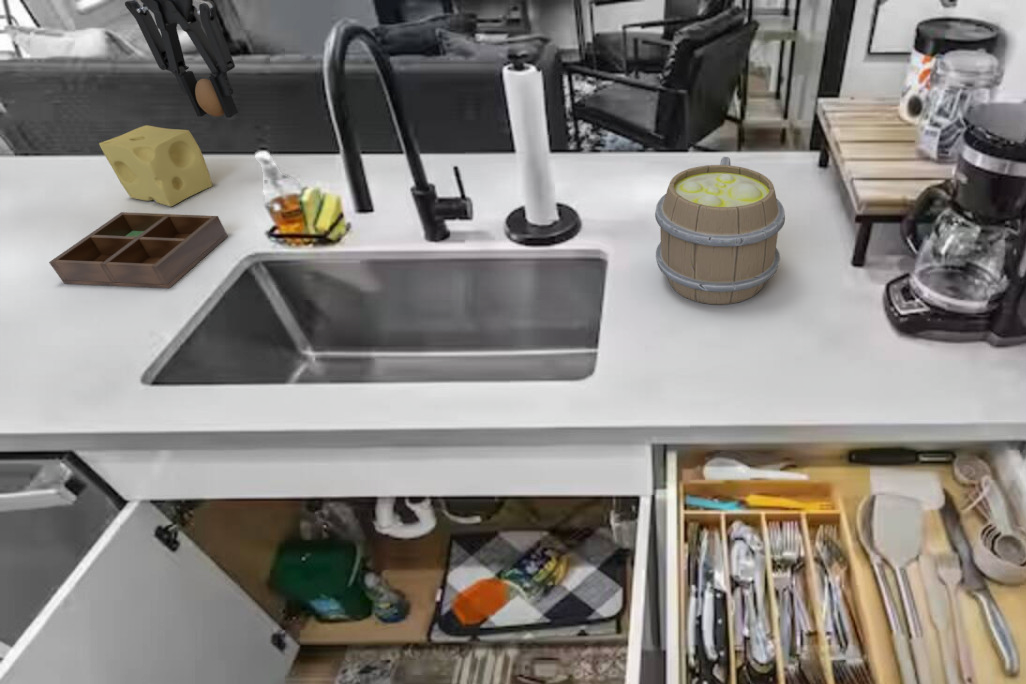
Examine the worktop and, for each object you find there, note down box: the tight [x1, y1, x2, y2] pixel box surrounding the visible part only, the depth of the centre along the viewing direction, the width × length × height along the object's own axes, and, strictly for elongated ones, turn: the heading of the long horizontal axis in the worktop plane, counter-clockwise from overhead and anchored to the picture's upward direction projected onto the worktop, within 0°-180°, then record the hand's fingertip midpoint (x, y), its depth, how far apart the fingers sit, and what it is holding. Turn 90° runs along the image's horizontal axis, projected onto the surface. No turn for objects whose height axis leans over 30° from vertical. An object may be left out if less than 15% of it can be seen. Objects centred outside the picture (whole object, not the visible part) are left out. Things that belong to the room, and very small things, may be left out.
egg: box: [195, 78, 225, 118], centre depth 116 cm, size 4×4×6 cm
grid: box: [49, 211, 229, 289], centre depth 105 cm, size 16×16×4 cm
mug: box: [654, 156, 786, 306], centre depth 100 cm, size 19×25×15 cm
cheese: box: [98, 124, 214, 207], centre depth 120 cm, size 10×11×10 cm
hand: (218, 114), depth 118 cm, fingers closed on egg, 4 cm apart
